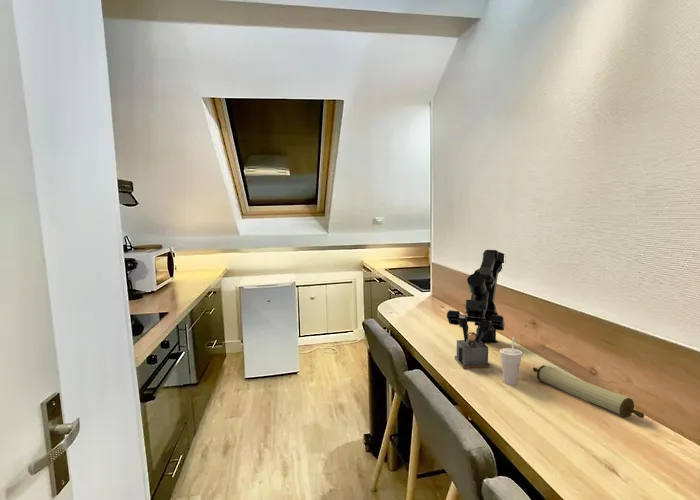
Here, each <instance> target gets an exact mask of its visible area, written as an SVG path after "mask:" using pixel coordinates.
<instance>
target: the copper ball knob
mask: <svg viewBox="0 0 700 500" xmlns="http://www.w3.org/2000/svg"><path fill="white" fill-rule="evenodd" d="M467 340H468V341H469V342H470V345H474V343H475V342H476V341H477V335H476V332H471V331H470V332H468V334H467Z"/></svg>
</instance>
